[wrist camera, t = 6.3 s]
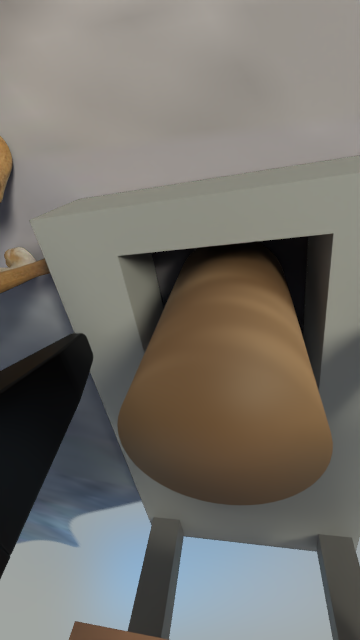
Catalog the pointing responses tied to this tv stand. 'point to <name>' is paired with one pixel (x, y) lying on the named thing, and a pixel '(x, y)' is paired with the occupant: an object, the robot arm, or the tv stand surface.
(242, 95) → the tv stand surface
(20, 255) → the lion figurine
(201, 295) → the peg
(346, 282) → the socket block
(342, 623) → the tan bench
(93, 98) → the tv stand surface
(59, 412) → the robot arm
